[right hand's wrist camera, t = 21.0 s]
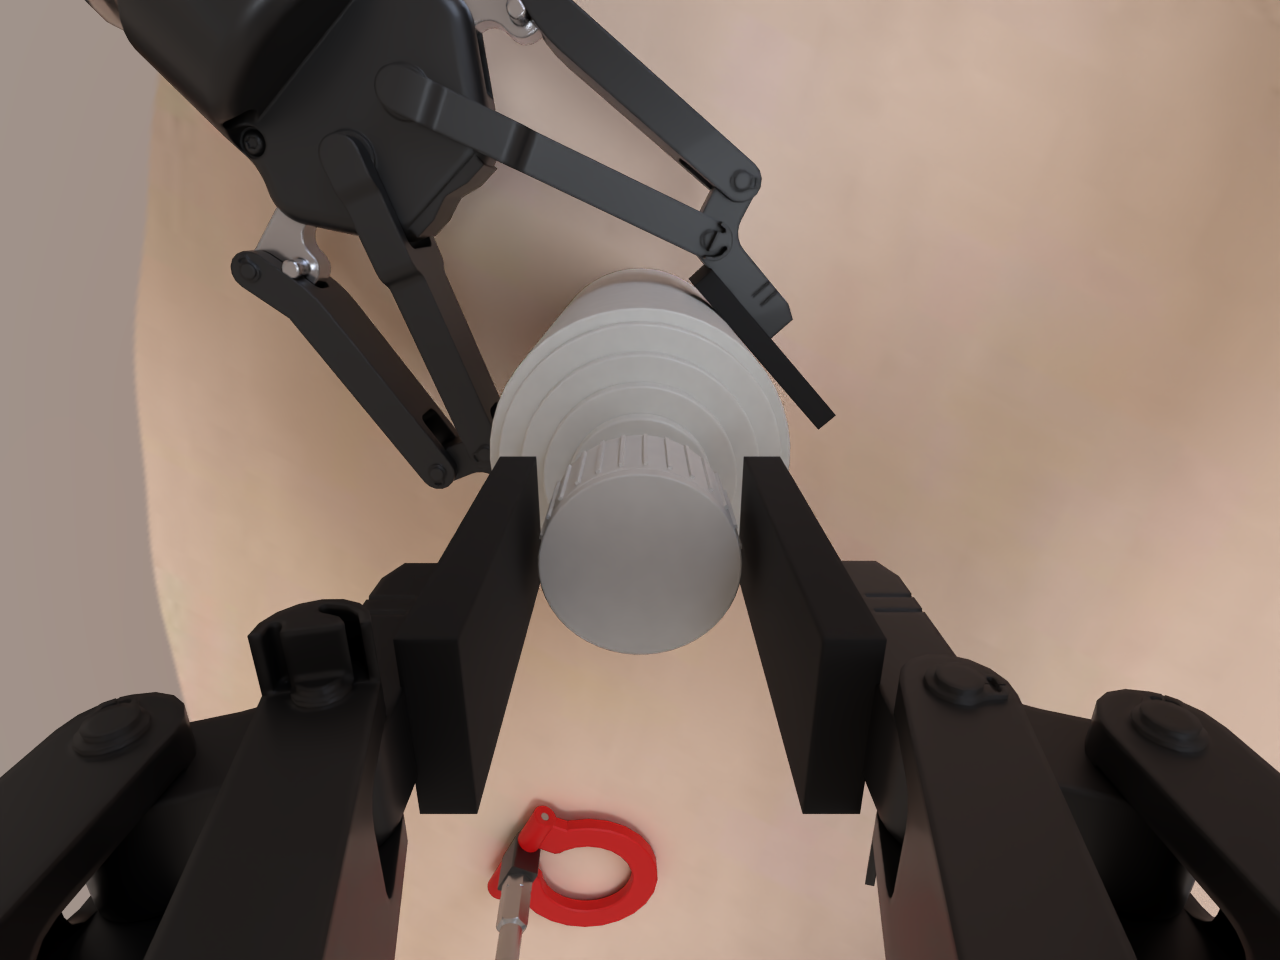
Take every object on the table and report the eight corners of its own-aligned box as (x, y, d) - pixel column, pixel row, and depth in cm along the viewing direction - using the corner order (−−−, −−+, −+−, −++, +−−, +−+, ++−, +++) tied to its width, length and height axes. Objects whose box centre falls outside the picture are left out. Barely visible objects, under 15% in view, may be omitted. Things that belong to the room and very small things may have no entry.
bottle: (733, 434, 31) (847, 697, 14) (566, 452, 32) (479, 732, 15) (721, 257, 29) (844, 319, 11) (538, 280, 29) (387, 373, 12)
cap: (602, 620, 15) (596, 686, 13) (516, 480, 14) (494, 527, 12) (757, 552, 15) (777, 609, 13) (682, 399, 13) (690, 434, 11)
